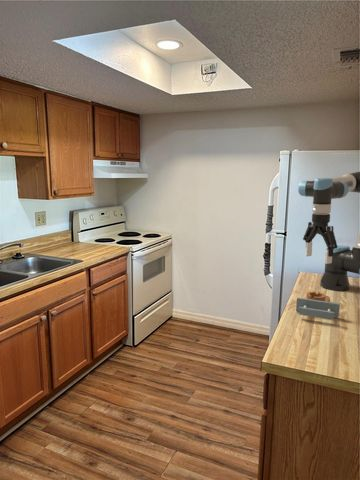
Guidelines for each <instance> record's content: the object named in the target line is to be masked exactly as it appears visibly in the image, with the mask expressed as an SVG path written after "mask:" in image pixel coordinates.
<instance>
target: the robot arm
mask: <svg viewBox="0 0 360 480" xmlns="http://www.w3.org/2000/svg"><path fill="white" fill-rule="evenodd" d="M297 190H298V194H299V195H300V196H301V197H306V198H307V197H311V198H313V199H312V200H313V201H312V214H311V221H309V222H308V223H307V228H306V231H305V232H304V234H303V238H302V240H303V241H305V257H312V256H313V255H312V254H313V239H315V237H316V236H317V235H320V236H321V237H322V238H323V240H324V243H325V244H326V251H325V263H324V272H323V274H322V277H321V278H320V283H319V285H320V286H321V288H324V289H327V290H330V291H341V292H342V291H348V290H350V280H349V276H348V273H352V274H357V275H360V231H359V232H358V237H357V240H356V241H357V242H356V244H355V245H353V246H352V249H351V248H350V246H349V245H338V244H337V240H336V236H335V232H334V226H333V225H331V226H330V225H329V223H330V222H331V214H330V213H331V210H332V199H333V200H334V199H342V198H345V197H346V196H347V195H348V193H358V194H360V171H356V172H352V173H351V172H350V173H345V174H343V175H342V176H338V177H331V178H328V177H317V178H315V179H314V180H301V182H299V184H298V187H297Z"/></svg>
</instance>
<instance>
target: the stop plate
mask: <svg viewBox="0 0 360 480" xmlns="http://www.w3.org/2000/svg"><path fill="white" fill-rule="evenodd" d="M340 305H341V303H340V302H339V303H337V302H333V301H332V302H331V301H330V302H326V301H319V300H312V299H306V298H305V297H304V298H303V297H296V305H295V311H296V312H298V315H301V316H306V317H311V318H312V317H313V318H319V319H326V320H332V321H333V320H334V318H338V319H339V316H340V308H341V306H340Z"/></svg>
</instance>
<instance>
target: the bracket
mask: <svg viewBox="0 0 360 480" xmlns="http://www.w3.org/2000/svg"><path fill="white" fill-rule="evenodd" d="M305 299H312V300H319V301H326V302H331V297H330V296H329V295H326V294H325V293H322V292H320V291H318V293H317V292H316V291H307V292H306V298H305Z"/></svg>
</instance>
